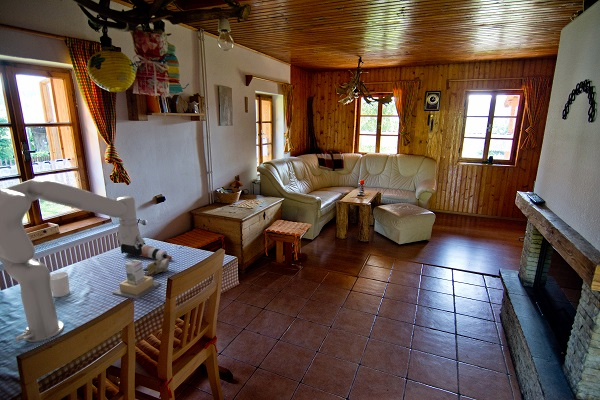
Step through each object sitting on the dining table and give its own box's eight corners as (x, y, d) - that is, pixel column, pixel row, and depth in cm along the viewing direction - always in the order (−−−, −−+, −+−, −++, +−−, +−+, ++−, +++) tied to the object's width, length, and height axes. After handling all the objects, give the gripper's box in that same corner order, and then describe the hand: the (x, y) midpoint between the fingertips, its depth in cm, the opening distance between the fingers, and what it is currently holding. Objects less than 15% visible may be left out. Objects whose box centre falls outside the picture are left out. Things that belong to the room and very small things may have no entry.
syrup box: (145, 285, 169) (142, 260, 166) (137, 291, 164) (133, 265, 160) (137, 284, 171) (133, 258, 167) (128, 289, 166) (124, 263, 162)
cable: (168, 269, 200) (163, 259, 193) (125, 256, 209) (118, 246, 202) (178, 256, 207) (173, 246, 200) (135, 244, 216) (129, 234, 209)
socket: (136, 300, 158) (135, 291, 157) (112, 293, 163) (111, 285, 162) (161, 284, 173) (160, 276, 171) (137, 279, 178) (136, 271, 177)
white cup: (49, 298, 159) (45, 280, 156) (56, 290, 166) (52, 273, 163) (67, 296, 161) (64, 278, 158) (73, 288, 168) (70, 271, 166)
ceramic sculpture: (170, 259, 183) (141, 267, 175) (172, 272, 185) (144, 281, 178) (166, 252, 192) (138, 260, 184) (168, 266, 194) (141, 273, 186)
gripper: (108, 221, 158) (112, 254, 162) (135, 225, 152) (139, 259, 156) (121, 217, 165) (125, 248, 169) (147, 221, 159) (151, 253, 163)
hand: (131, 253), depth 163 cm, fingers open, 9 cm apart
